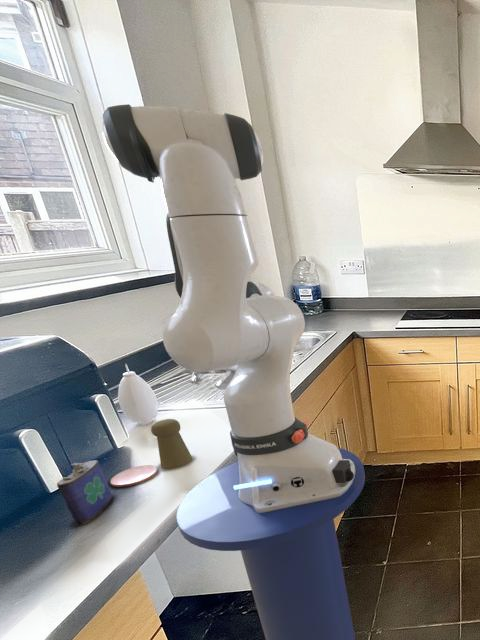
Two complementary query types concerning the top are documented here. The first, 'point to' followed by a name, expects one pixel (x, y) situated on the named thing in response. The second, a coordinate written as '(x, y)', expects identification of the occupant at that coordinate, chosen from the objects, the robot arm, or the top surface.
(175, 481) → the top surface
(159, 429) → the cork
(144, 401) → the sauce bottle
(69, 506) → the flask
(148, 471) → the coaster
